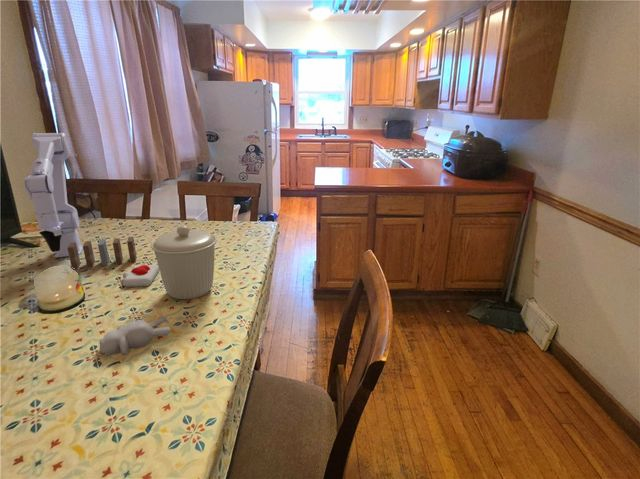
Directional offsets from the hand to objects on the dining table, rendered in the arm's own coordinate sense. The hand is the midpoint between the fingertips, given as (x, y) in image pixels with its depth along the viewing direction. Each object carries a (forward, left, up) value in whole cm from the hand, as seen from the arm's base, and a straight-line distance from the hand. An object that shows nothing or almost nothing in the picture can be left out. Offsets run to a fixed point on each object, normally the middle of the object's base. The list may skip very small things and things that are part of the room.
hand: (55, 250), depth 128 cm
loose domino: (0, +14, -6) cm, 15 cm away
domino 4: (0, +23, -6) cm, 24 cm away
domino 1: (0, +5, -6) cm, 8 cm away
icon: (+17, +26, -7) cm, 32 cm away
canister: (+32, +41, -7) cm, 52 cm away
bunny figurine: (+55, +28, -7) cm, 62 cm away
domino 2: (0, +9, -6) cm, 11 cm away
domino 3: (0, +18, -6) cm, 20 cm away
